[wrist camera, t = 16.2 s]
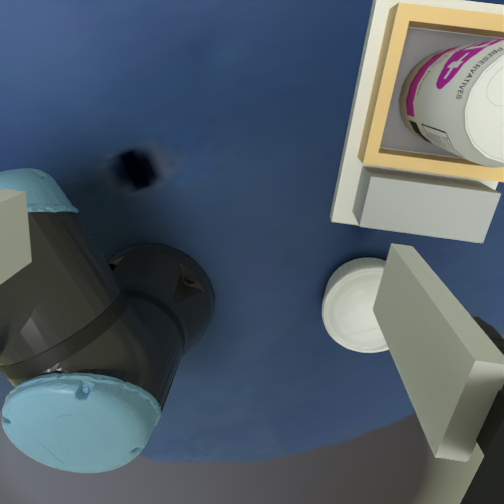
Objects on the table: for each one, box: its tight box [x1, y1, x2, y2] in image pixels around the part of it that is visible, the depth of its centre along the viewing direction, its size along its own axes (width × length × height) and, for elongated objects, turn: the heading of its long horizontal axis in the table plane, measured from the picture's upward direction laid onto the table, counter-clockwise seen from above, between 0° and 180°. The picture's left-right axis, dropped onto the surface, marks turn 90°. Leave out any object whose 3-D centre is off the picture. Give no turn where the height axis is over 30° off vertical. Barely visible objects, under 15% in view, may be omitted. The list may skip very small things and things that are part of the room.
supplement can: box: [399, 38, 504, 168], centre depth 32 cm, size 8×8×15 cm
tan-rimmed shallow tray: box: [330, 0, 504, 243], centre depth 39 cm, size 22×16×7 cm
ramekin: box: [322, 257, 389, 353], centre depth 48 cm, size 11×11×5 cm
